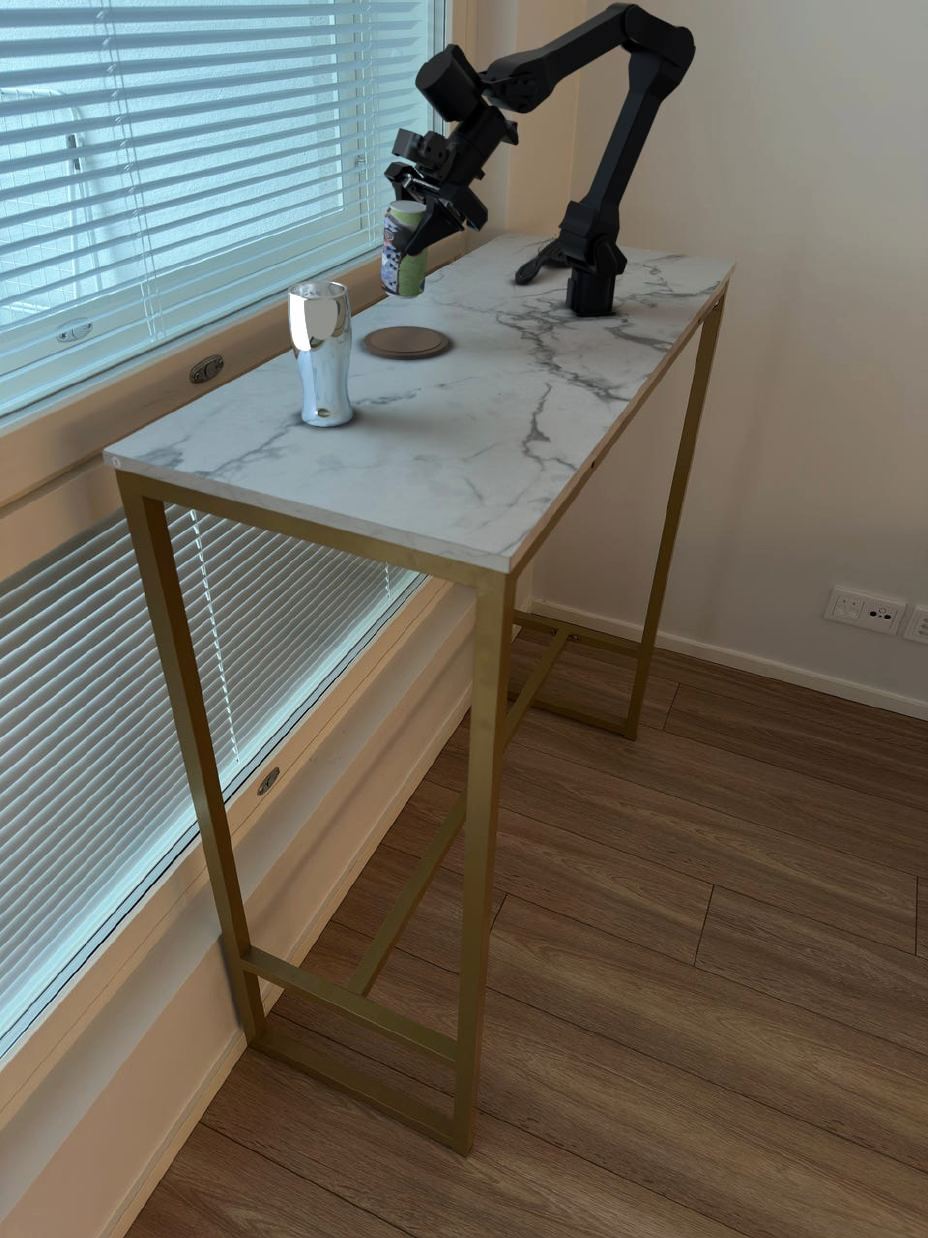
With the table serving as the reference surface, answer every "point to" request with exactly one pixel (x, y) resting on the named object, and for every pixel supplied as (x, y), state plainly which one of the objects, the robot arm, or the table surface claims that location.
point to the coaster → (405, 342)
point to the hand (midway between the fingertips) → (396, 248)
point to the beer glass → (322, 349)
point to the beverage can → (402, 251)
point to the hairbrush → (541, 262)
